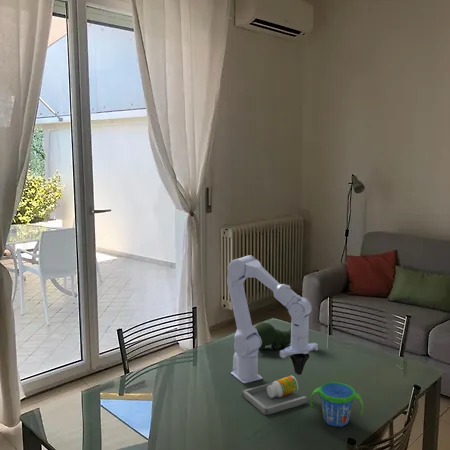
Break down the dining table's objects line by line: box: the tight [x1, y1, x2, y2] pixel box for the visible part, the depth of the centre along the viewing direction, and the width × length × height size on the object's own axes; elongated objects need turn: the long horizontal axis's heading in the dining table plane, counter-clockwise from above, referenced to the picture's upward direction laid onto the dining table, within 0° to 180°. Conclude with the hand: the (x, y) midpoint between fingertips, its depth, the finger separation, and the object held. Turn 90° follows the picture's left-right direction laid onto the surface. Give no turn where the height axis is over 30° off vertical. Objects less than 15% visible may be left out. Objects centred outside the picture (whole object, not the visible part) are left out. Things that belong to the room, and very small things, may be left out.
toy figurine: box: [254, 307, 291, 351], centre depth 209 cm, size 9×19×25 cm
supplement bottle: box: [267, 375, 299, 398], centre depth 168 cm, size 5×5×10 cm
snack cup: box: [309, 381, 364, 428], centre depth 153 cm, size 16×10×10 cm
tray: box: [241, 381, 308, 416], centre depth 166 cm, size 14×16×2 cm
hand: (298, 373), depth 170 cm, fingers closed
